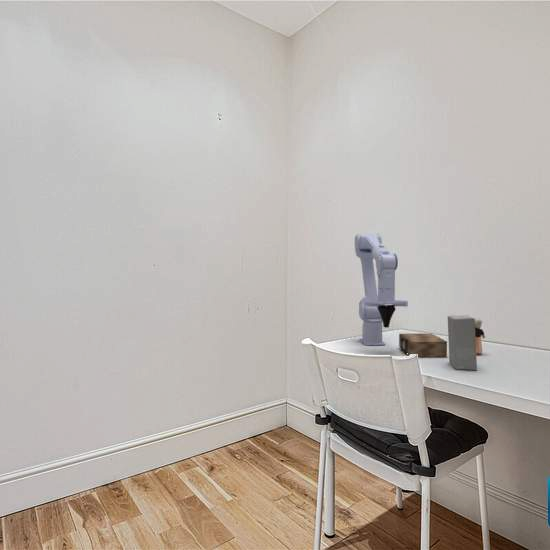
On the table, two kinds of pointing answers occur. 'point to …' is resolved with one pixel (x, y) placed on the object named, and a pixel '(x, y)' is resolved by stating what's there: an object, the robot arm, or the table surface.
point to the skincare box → (462, 342)
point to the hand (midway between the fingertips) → (386, 327)
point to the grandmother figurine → (478, 336)
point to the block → (423, 345)
